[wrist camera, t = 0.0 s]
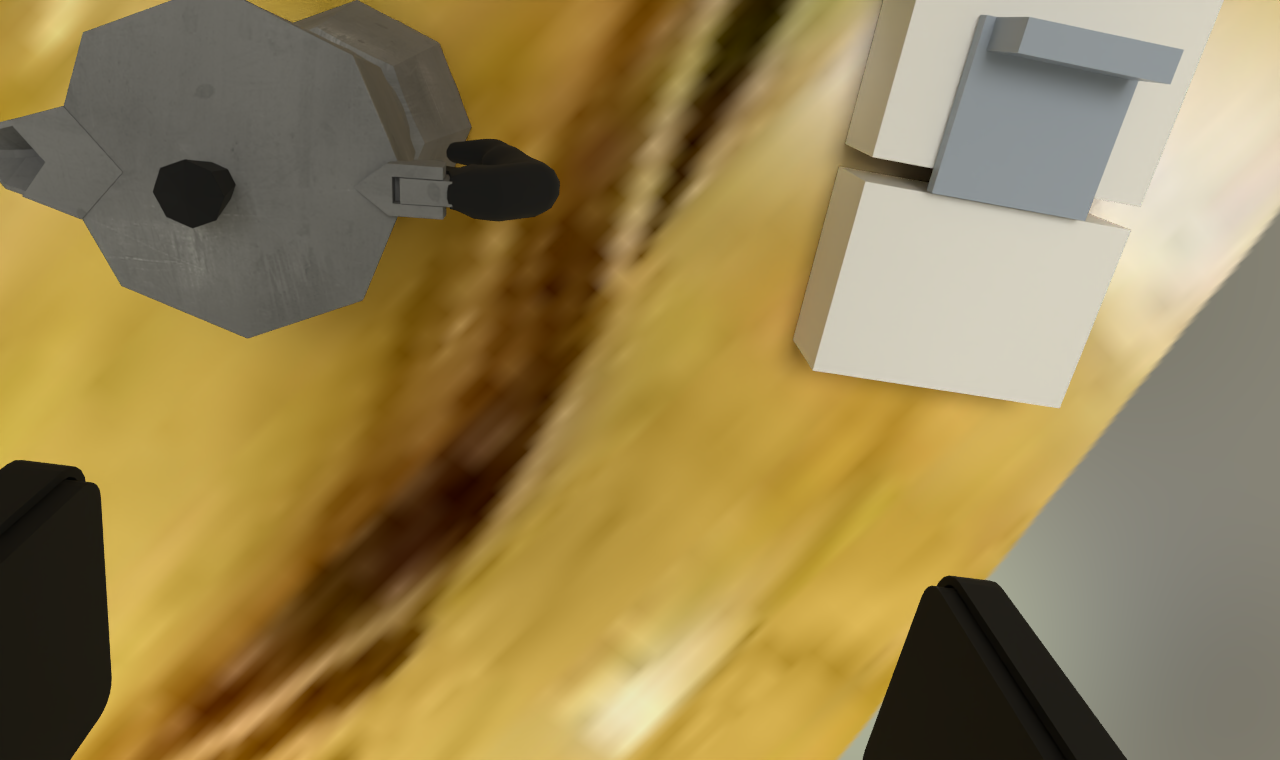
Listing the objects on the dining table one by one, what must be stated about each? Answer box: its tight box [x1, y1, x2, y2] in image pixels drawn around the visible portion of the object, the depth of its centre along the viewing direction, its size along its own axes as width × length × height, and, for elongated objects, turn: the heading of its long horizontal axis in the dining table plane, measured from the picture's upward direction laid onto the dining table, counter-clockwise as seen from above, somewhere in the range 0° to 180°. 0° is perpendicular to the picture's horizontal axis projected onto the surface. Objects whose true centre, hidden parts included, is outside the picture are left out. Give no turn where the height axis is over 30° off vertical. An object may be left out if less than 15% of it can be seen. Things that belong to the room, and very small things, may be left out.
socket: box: [793, 0, 1224, 408], centre depth 38 cm, size 18×12×4 cm, turn 170°
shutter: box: [927, 15, 1184, 221], centre depth 33 cm, size 7×7×3 cm
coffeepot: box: [0, 0, 560, 338], centre depth 29 cm, size 15×9×18 cm, turn 85°
